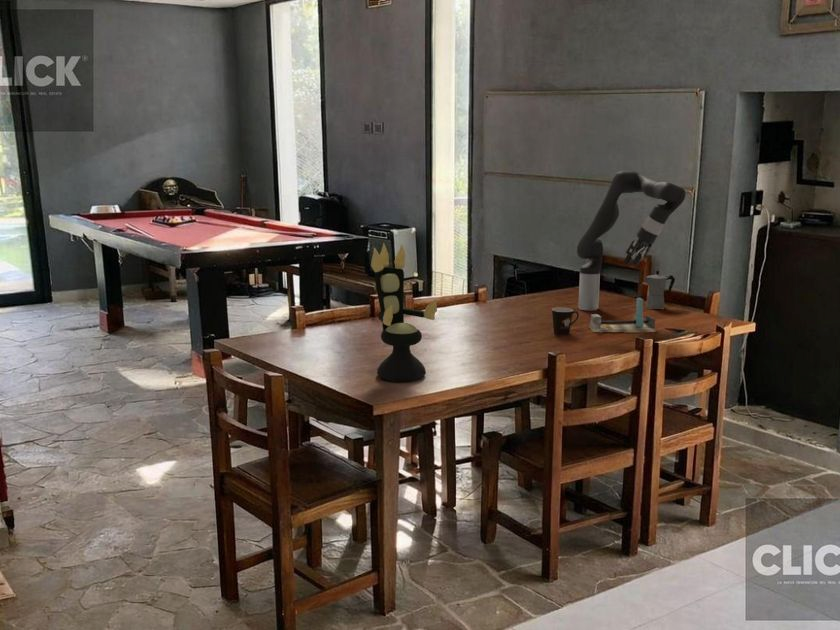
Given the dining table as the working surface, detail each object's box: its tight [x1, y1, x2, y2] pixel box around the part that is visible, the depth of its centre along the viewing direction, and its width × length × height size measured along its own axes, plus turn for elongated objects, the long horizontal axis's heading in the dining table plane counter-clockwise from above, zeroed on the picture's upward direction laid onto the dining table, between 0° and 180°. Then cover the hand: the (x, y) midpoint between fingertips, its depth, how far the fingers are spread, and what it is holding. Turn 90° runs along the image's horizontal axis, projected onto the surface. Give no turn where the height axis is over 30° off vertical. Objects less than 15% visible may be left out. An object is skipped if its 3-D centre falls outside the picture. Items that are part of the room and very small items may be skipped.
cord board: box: [588, 313, 656, 334], centre depth 357 cm, size 26×8×6 cm, turn 94°
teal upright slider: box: [633, 297, 645, 327], centre depth 357 cm, size 3×4×12 cm
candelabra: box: [370, 242, 438, 383], centre depth 287 cm, size 19×22×45 cm
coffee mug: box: [551, 307, 580, 336], centre depth 351 cm, size 12×9×10 cm
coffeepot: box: [643, 270, 676, 310], centre depth 400 cm, size 15×9×18 cm, turn 98°
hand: (629, 264), depth 345 cm, fingers open, 8 cm apart
